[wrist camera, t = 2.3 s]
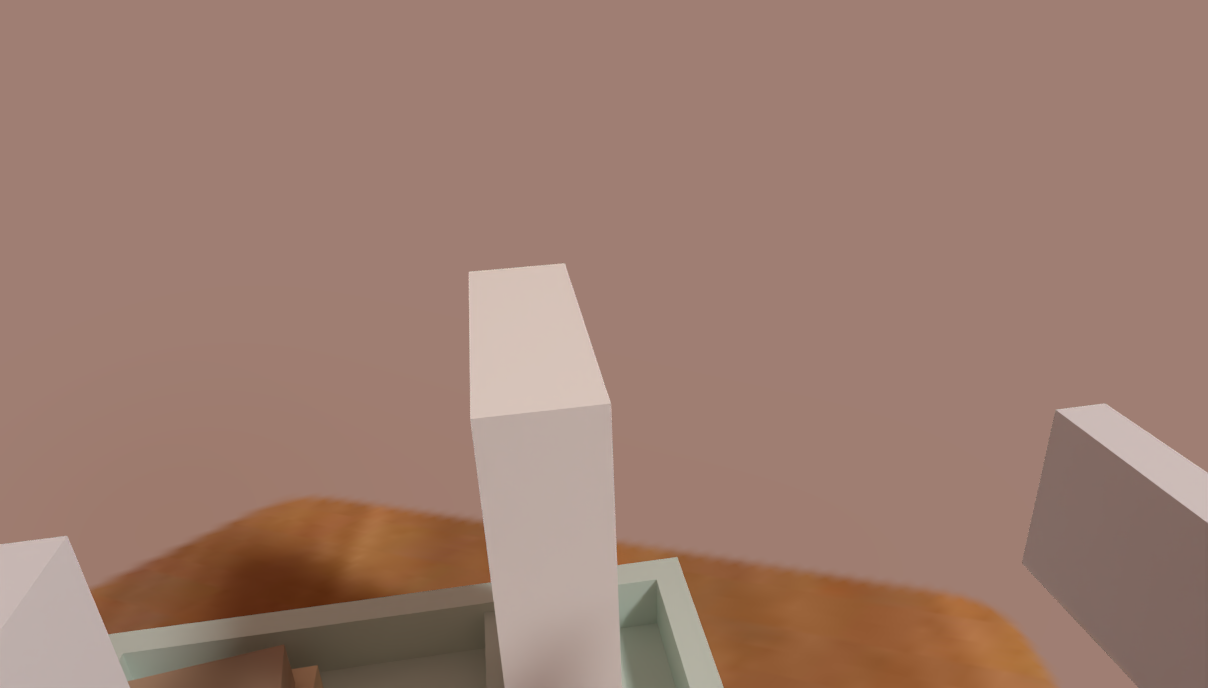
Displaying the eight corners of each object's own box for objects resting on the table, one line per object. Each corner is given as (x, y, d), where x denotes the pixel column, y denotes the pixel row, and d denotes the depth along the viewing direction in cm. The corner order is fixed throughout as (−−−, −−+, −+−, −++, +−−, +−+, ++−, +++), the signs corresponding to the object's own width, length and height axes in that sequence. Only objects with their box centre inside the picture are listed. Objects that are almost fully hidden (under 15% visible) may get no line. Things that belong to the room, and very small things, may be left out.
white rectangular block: (534, 921, 25) (470, 418, 17) (517, 686, 33) (468, 271, 25) (630, 903, 25) (610, 403, 17) (590, 675, 33) (564, 263, 25)
